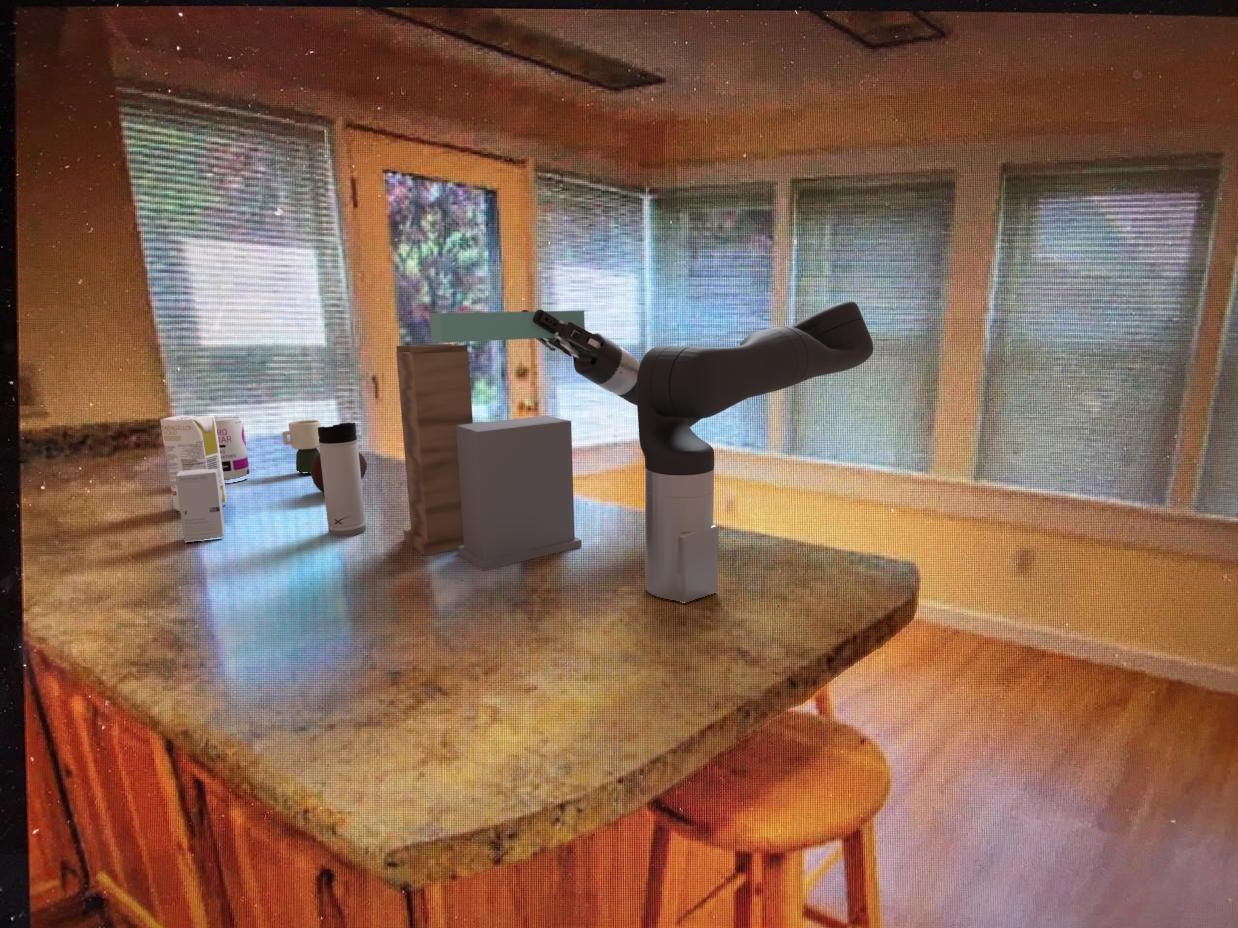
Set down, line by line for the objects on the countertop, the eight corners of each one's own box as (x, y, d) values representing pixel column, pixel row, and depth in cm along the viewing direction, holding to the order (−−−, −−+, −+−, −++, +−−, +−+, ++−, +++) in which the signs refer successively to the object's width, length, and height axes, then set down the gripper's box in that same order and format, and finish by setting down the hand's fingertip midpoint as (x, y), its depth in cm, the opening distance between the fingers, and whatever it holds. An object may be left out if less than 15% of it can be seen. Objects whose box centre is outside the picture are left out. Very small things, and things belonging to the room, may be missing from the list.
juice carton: (206, 514, 133) (192, 419, 129) (168, 513, 134) (152, 419, 130) (233, 504, 140) (220, 414, 136) (196, 503, 141) (183, 413, 137)
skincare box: (184, 544, 115) (173, 475, 112) (187, 537, 119) (176, 470, 116) (225, 539, 118) (215, 471, 115) (227, 532, 122) (217, 466, 119)
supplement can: (246, 475, 167) (238, 415, 164) (253, 480, 161) (245, 418, 158) (208, 480, 162) (199, 418, 159) (214, 486, 156) (205, 422, 153)
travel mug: (342, 539, 116) (330, 425, 112) (322, 533, 120) (309, 422, 116) (374, 530, 121) (363, 420, 117) (353, 524, 125) (342, 418, 121)
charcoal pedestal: (581, 546, 111) (578, 421, 106) (482, 570, 101) (474, 433, 96) (552, 532, 119) (547, 414, 114) (457, 553, 109) (449, 425, 104)
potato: (379, 486, 153) (375, 442, 151) (348, 502, 141) (343, 453, 139) (334, 485, 155) (329, 441, 153) (299, 500, 142) (293, 452, 140)
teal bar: (584, 336, 108) (584, 310, 107) (442, 342, 94) (440, 313, 93) (571, 335, 111) (570, 311, 110) (431, 342, 97) (429, 313, 96)
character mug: (326, 467, 174) (320, 418, 171) (337, 471, 169) (332, 420, 167) (282, 474, 167) (275, 423, 164) (293, 479, 162) (286, 426, 159)
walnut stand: (488, 542, 114) (476, 345, 107) (424, 555, 108) (408, 347, 101) (464, 528, 122) (452, 343, 115) (404, 540, 116) (387, 346, 109)
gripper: (624, 388, 108) (542, 337, 97) (575, 382, 119) (497, 336, 108) (642, 346, 108) (562, 291, 98) (592, 344, 120) (515, 294, 109)
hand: (528, 315), depth 103 cm, fingers closed on teal bar, 4 cm apart
